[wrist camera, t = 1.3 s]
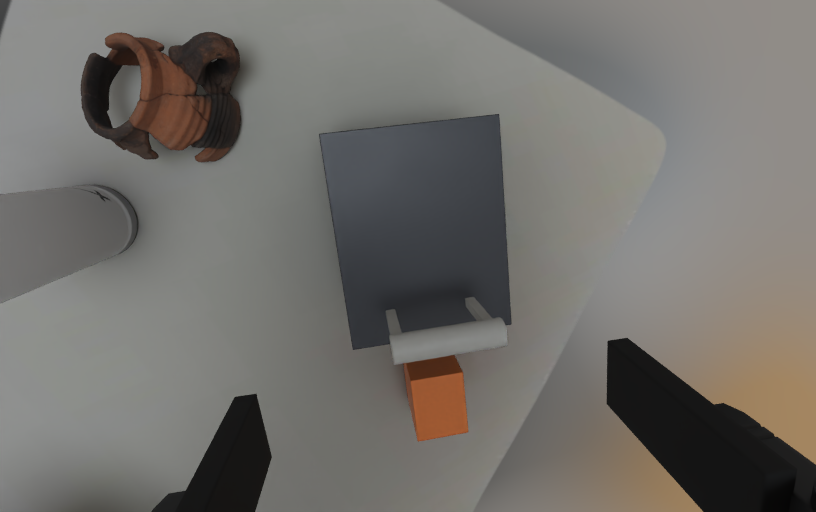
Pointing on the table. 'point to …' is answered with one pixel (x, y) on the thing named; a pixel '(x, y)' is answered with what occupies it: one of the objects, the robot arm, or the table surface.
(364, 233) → the hinged box lid
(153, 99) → the pottery mug
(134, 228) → the travel mug
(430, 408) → the orange block
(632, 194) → the table surface
